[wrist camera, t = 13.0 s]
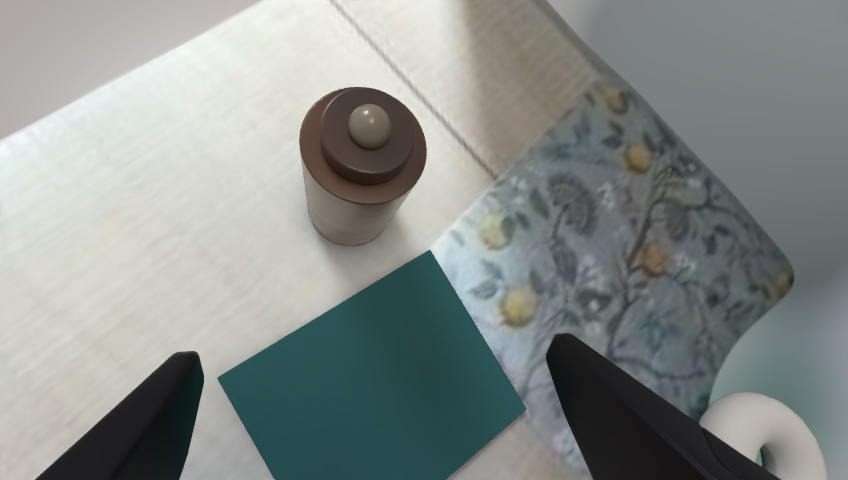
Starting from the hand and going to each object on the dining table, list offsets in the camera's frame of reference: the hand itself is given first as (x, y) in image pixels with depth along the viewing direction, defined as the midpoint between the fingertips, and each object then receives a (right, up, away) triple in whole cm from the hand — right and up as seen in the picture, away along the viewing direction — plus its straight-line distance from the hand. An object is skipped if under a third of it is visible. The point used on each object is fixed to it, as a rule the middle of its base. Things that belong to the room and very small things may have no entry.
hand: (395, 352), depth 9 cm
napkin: (-2, -6, +13) cm, 14 cm away
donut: (+24, -13, +18) cm, 33 cm away
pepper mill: (-4, +5, +14) cm, 16 cm away
